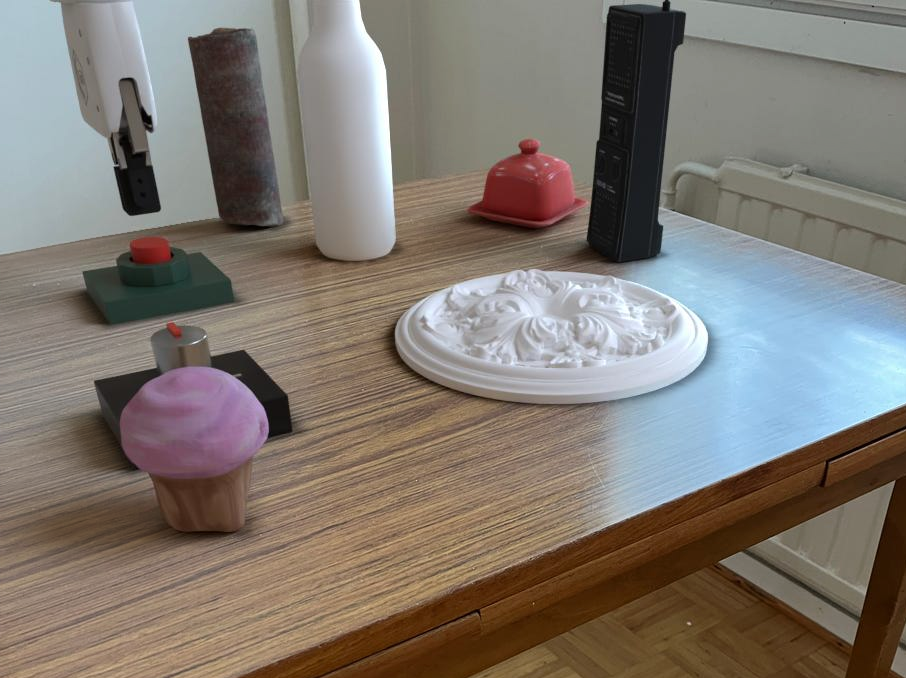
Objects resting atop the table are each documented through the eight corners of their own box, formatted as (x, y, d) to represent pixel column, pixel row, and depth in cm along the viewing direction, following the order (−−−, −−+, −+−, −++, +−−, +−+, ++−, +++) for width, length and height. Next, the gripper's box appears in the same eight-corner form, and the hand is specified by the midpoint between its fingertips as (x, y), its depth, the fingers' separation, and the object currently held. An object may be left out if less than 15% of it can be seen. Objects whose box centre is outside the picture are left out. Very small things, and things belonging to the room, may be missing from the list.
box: (110, 325, 91) (100, 282, 89) (87, 293, 98) (77, 252, 96) (234, 302, 96) (227, 260, 94) (204, 273, 103) (197, 233, 100)
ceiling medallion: (508, 266, 104) (508, 235, 102) (757, 321, 91) (763, 287, 89) (330, 352, 86) (326, 316, 84) (608, 436, 73) (611, 396, 71)
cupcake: (129, 554, 61) (88, 406, 55) (163, 484, 68) (130, 346, 62) (270, 553, 61) (245, 405, 55) (290, 484, 68) (270, 345, 62)
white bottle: (335, 267, 104) (301, -84, 85) (304, 245, 110) (266, -87, 91) (409, 254, 107) (392, -87, 88) (376, 233, 113) (353, -90, 94)
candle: (239, 238, 112) (207, 34, 99) (207, 224, 116) (173, 27, 104) (295, 225, 116) (271, 27, 103) (262, 212, 120) (236, 20, 108)
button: (138, 269, 93) (134, 250, 92) (129, 258, 95) (125, 240, 94) (176, 262, 94) (172, 244, 93) (165, 252, 97) (162, 234, 96)
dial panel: (134, 470, 70) (124, 430, 68) (102, 416, 77) (92, 378, 75) (293, 432, 74) (287, 392, 72) (249, 384, 81) (243, 347, 79)
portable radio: (578, 243, 110) (593, -25, 94) (625, 236, 112) (647, -28, 96) (613, 264, 104) (635, -18, 88) (662, 256, 106) (691, -21, 90)
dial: (223, 390, 73) (213, 334, 70) (170, 403, 71) (158, 346, 69) (206, 371, 76) (195, 317, 73) (155, 383, 74) (142, 327, 71)
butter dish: (545, 237, 112) (548, 155, 106) (461, 221, 117) (460, 143, 111) (592, 212, 119) (597, 135, 114) (512, 198, 124) (513, 124, 119)
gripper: (29, -27, 84) (84, 199, 96) (63, -12, 74) (121, 239, 86) (117, -32, 87) (161, 188, 99) (162, -18, 77) (205, 226, 88)
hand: (142, 211), depth 92 cm, fingers closed
